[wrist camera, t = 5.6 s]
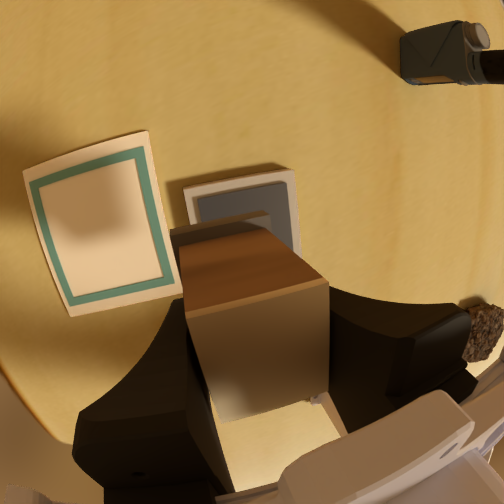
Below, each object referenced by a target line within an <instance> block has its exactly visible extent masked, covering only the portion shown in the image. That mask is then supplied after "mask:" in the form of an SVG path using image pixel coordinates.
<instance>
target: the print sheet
mask: <svg viewBox="0 0 504 504" xmlns="http://www.w3.org/2000/svg"><path fill="white" fill-rule="evenodd" d="M22 172H23V177H24V182H25V186H26V191H27V195H28V199H29V203H30V207H31V211H32V214H33V218H34V221H35V225H36V228H37V231H38V235H39V238H40V241H41V244H42V247H43V250H44V253H45V256H46V259H47V261H48V264H49V267H50V270H51V272H52V275H53V277H54V280H55V282H56V285H57V287H58V290H59V292H60V295H61V297H62V299H63V302H64V304H65V306H66V308H67V311H68V313H69V315H70V317H74V316H79V315H84V314H89V313H94V312H98V311H103V310H108V309H112V308H117V307H122V306H126V305H131V304H136V303H140V302H145V301H149V300H154V299H158V298H163V297H167V296H171V295H176V294H180V293H183V289H182V284H181V280H180V276H179V272H178V268H177V265H176V261H175V257H174V253H173V249H172V245H171V241H170V237H169V232H168V228H167V224H166V220H165V215H164V211H163V206H162V202H161V197H160V192H159V187H158V182H157V177H156V172H155V167H154V162H153V157H152V151H151V146H150V140H149V134H148V131H143V132H139V133H135V134H131V135H127V136H124V137H120V138H116V139H113V140H109V141H106V142H102V143H99V144H96V145H92V146H89V147H86V148H83V149H80V150H77V151H74V152H71V153H68V154H65V155H62V156H59V157H57V158H54V159H51V160H48V161H46V162H43V163H41V164H38V165H36V166H33V167H31V168H28V169H26V170H23V171H22Z"/></svg>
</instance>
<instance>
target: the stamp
mask: <svg viewBox="0 0 504 504" xmlns="http://www.w3.org/2000/svg"><path fill="white" fill-rule="evenodd" d="M170 240H171V244H172V248H173V252H174V256H175V260H176V264H177V268H178V272H179V276H180V280H181V284H182V289H183V298H184V308H185V316H186V321H187V325H188V328H189V331H190V334H191V338H192V341H193V344H194V347H195V350H196V353H197V356H198V360H199V363H200V366H201V369H202V371H203V374H204V377H205V380H206V383H207V386H208V389H209V392H210V394H211V397H212V400H213V403H214V405H215V408H216V411H217V413H218V416H219V419H220V421H221V424H222V423H226V422H230V421H234V420H238V419H242V418H246V417H250V416H254V415H257V414H261V413H264V412H268V411H271V410H274V409H277V408H281V407H284V406H287V405H290V404H293V403H296V402H299V401H302V400H305V399H308V398H310V397H313V396H316V395H319V394H321V393H324V392H327V391H328V384H329V343H330V309H329V282H328V281H327V280H326V279H325V278H324V277H322V276H321V275H320V274H319V273H318V272H317V271H316V270H314V269H313V268H312V267H311V266H310V265H309V264H307V263H306V262H305V261H304V260H303V259H302V258H300V257H299V256H298V255H297V254H296V253H295V252H293V251H292V250H291V249H290V248H289V247H288V246H286V245H285V244H284V243H283V242H282V241H280V240H279V239H278V238H277V237H276V236H275V235H273V234H272V227H271V219H270V214H268V213H267V212H265V211H264V210H260V211H255V212H250V213H245V214H240V215H235V216H230V217H225V218H220V219H216V220H211V221H206V222H201V223H197V224H192V225H188V226H183V227H179V228H174V229H170Z"/></svg>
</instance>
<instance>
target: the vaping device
mask: <svg viewBox="0 0 504 504" xmlns="http://www.w3.org/2000/svg"><path fill="white" fill-rule="evenodd" d="M489 48H490V39H489V36H488V34H487V31H486V30H485V28H484V27H483V26H482V25H481V24H480V23H472V24H471V23H469V22H467V21H464V22H463V21H459V20H455V21H450V22H446V23H441V24H437V25H433V26H429V27H425V28H421V29H417V30H414V31H410V32H408V33H406V34H405V36H403V37H401V39H400V52H401V76H402V78H403V79H404V80H405V81H406V82H408V83H409V84H412V85H430V84H445V83H457V84H460V85H465V86H467V85H482V84H504V50H489V51H482V49H489Z"/></svg>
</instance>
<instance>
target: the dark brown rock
mask: <svg viewBox="0 0 504 504" xmlns="http://www.w3.org/2000/svg"><path fill="white" fill-rule="evenodd" d="M467 313H468V314H469V315H470V317H471V320H472V326H471V332H470V336H469V339H468V342H467V345H466V347H465V350H464V353H463V355H462V358H463V359H464V360H465V361H467V362H469V363H472V362H478V361H481V360H486V359H488V357H489V354H490V353H491V352H492V351H493V350H492V349H493V348H494V347H495V346H496V343H497V342H498V339H499V338H500V337H501V334H502V332H503V330H504V325H503V320H504V309H501V307H497V306H495V305H493V304H492V305H489V304H488V303H487V304H486V303H485V304H482V303H481V304H480V305H479V306H477V307H474V306H473V307H472V308H468V309H467Z"/></svg>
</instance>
